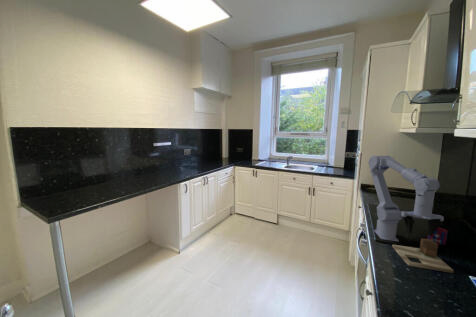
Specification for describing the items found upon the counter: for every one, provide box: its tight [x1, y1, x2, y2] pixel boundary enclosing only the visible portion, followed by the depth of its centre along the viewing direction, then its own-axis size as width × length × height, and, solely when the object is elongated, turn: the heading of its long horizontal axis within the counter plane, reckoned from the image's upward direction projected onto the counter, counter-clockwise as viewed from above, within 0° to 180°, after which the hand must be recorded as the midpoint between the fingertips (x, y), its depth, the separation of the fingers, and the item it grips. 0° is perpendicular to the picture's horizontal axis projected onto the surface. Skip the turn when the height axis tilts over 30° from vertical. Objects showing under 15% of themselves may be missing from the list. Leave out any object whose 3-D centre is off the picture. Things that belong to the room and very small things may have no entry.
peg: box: [419, 238, 439, 257], centre depth 87 cm, size 4×4×6 cm
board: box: [391, 244, 454, 274], centre depth 86 cm, size 14×15×2 cm
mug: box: [426, 226, 449, 246], centre depth 101 cm, size 7×10×7 cm
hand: (419, 233), depth 88 cm, fingers open, 7 cm apart
